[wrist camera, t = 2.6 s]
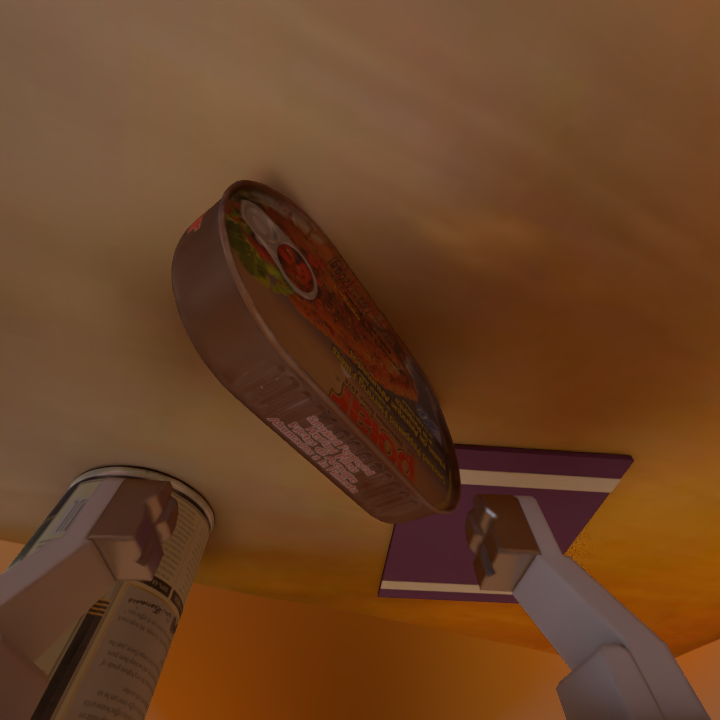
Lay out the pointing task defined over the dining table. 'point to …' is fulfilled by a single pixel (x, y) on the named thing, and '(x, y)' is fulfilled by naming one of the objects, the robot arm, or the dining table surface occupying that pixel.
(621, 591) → the dining table surface
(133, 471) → the coffee can
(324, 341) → the tin
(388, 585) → the cloth
